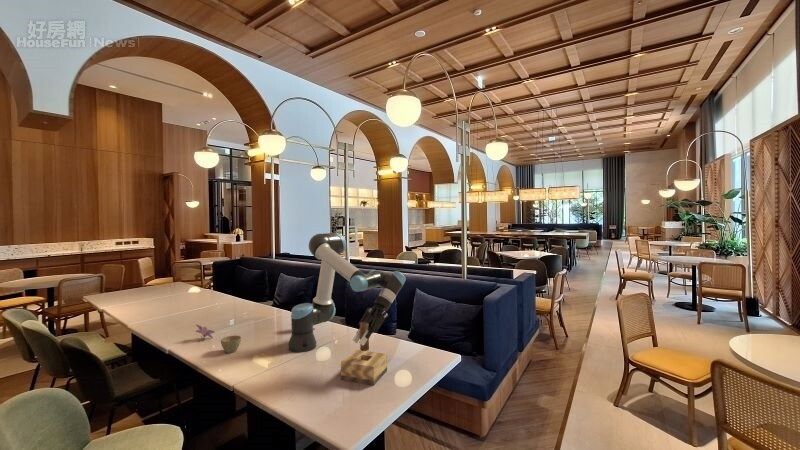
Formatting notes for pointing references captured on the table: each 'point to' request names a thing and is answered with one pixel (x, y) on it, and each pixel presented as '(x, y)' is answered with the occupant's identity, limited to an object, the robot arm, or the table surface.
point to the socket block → (364, 367)
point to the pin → (363, 328)
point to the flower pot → (230, 343)
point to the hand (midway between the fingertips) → (358, 342)
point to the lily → (204, 331)
